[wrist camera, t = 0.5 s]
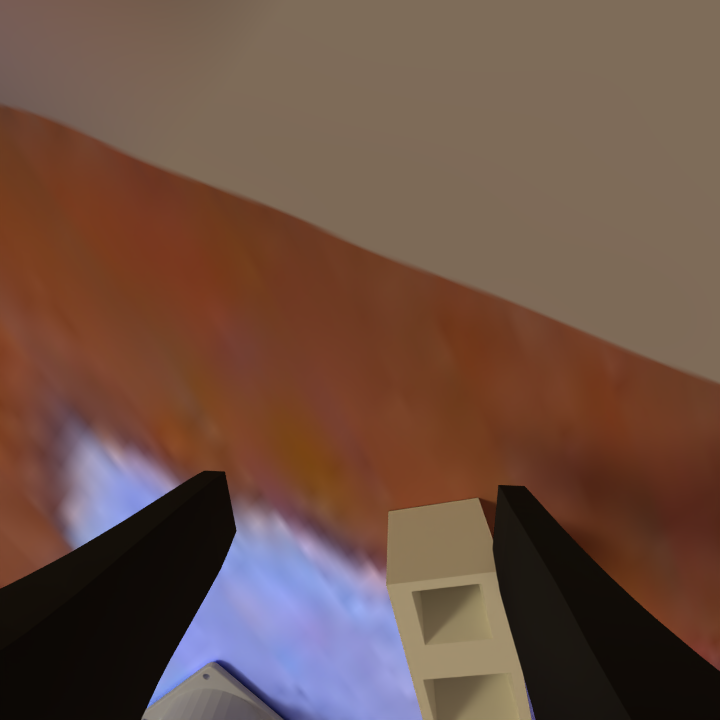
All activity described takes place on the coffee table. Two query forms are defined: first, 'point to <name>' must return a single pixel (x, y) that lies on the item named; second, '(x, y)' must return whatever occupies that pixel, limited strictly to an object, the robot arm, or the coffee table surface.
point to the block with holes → (453, 614)
